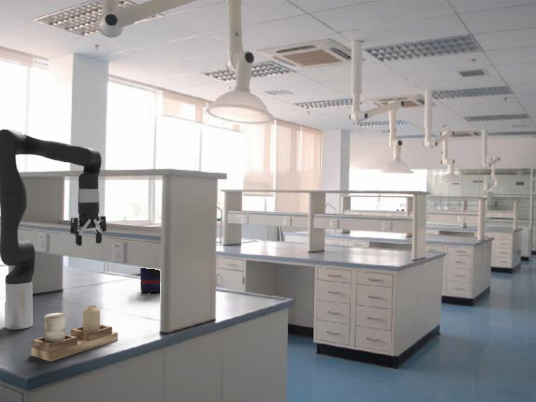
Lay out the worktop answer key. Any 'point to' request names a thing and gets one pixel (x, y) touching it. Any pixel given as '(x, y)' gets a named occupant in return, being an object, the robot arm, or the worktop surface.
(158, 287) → the navy upright block
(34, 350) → the wooden double holder
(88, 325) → the candle
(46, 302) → the worktop surface
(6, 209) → the robot arm
